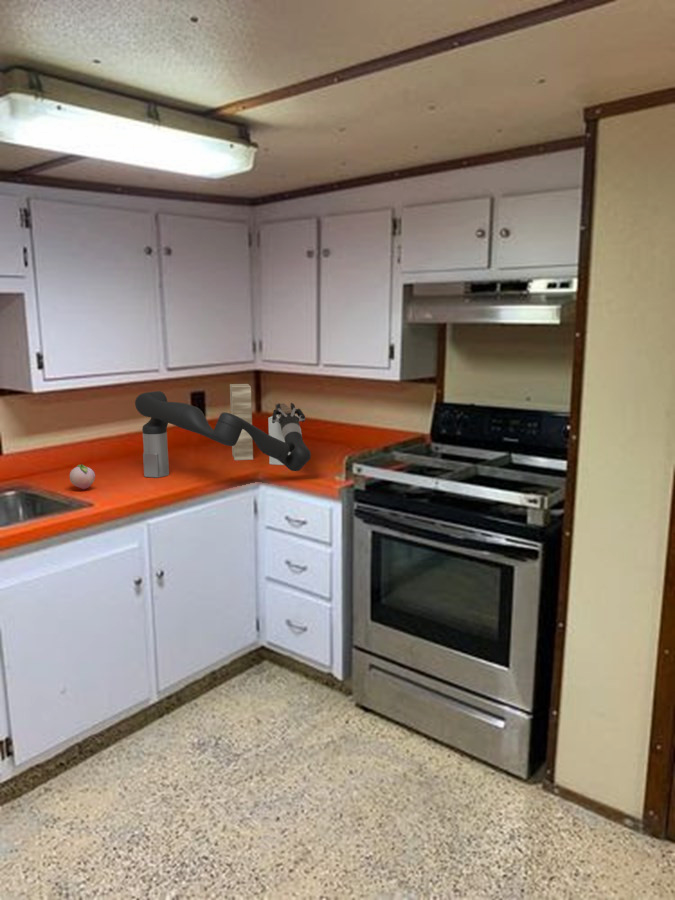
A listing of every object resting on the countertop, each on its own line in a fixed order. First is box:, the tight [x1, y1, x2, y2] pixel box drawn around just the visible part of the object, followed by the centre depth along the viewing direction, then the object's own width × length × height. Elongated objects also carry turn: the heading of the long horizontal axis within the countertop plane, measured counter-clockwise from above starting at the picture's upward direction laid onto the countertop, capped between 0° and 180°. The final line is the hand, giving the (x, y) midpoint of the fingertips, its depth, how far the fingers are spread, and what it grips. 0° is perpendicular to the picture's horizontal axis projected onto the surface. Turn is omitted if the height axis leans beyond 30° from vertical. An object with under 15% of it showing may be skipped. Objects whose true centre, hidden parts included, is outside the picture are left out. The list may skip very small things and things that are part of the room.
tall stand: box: [229, 383, 254, 461], centre depth 303 cm, size 12×8×32 cm, turn 13°
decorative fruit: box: [69, 462, 96, 491], centre depth 251 cm, size 9×8×10 cm
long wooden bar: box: [274, 402, 292, 416], centre depth 291 cm, size 21×4×4 cm, turn 13°
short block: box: [267, 414, 299, 466], centre depth 294 cm, size 10×10×20 cm
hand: (285, 404), depth 287 cm, fingers open, 4 cm apart
